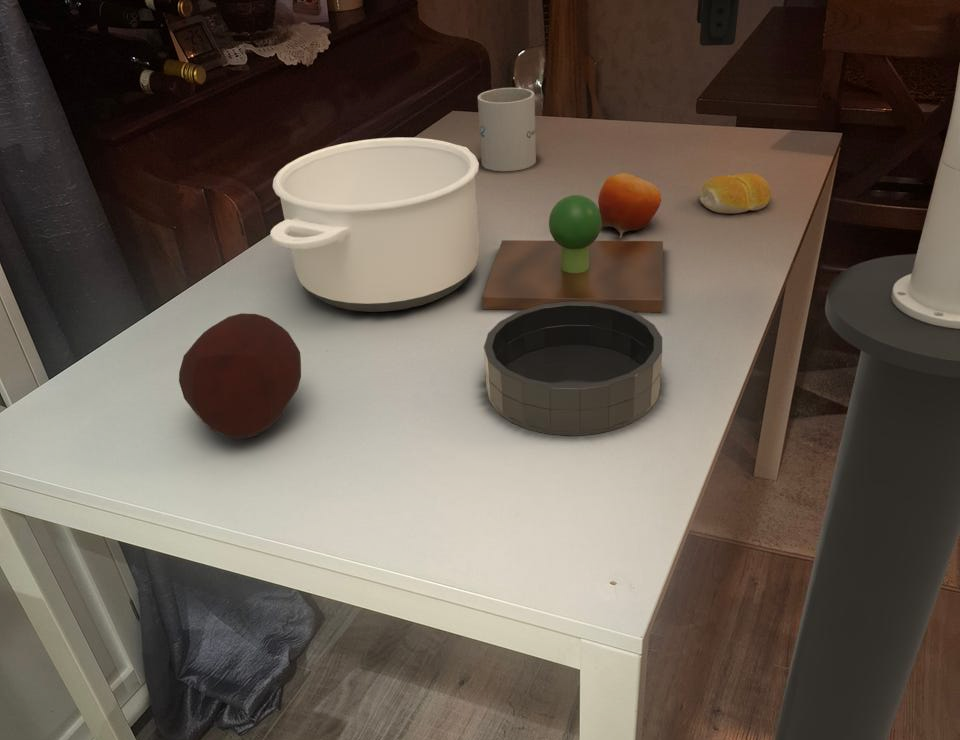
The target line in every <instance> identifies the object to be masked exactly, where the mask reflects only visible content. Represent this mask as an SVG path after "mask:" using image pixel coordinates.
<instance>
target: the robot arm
mask: <svg viewBox="0 0 960 740" xmlns="http://www.w3.org/2000/svg"><path fill="white" fill-rule="evenodd" d="M739 5H740V0H697V10H696V21H697V23H698V24H700V29H699V44H700V45H701V46H704V47H706V46H707V47H709V46H710V47H711V46H731V45H734V43H735V41H736V36H737V35H736V34H737V25H738V16H739V15H738V14H739V7H740V6H739ZM957 71H958V72H957V79H956V86H955V90H954V91H955V92H954V98H953V104H952V109H951V114H950V118H949V123H948V127H947V132H946V136H945V140H944V145H943V147H942V148H943V149H942V151H941V152H942V153H941V156H940V159H939V162H938V167H937V172H936V174H935V179H934V183H933V188H932V191H931V194H930V200H929V203H928V208H927V212H926V216H925V220H924V224H923V227H922V232H921V236H920V240H919V243H918V247H917V248H918V249H917V251H916V254H917V255H916V259H915V263H914V267H913V271H912V274H909V275H907V276H904V277H903V278H901V279H899V280H898V281H897V282H896V283H895V284H894V287H893V290H892V295H891V298H892V301H893V303H894V304H895V306H896V307H897V308H898V309H899V310H901V311H902V312H903V313H905V314H906V315H908V316H910V317H912V318H914V319H917V320H919V321H922V322H925V323H928V324H931V325H935V326H940V327H945V328H952V329H960V63H959V65H958V70H957Z"/></svg>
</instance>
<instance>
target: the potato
mask: <svg viewBox="0 0 960 740" xmlns="http://www.w3.org/2000/svg"><path fill="white" fill-rule="evenodd" d="M301 361H302V360H301V351H300V349H299V348H298V345H297V344H296V342H295V341H294V340H293V338H292V336H291V334H290V333H289V331H287V330H286V329H285V328H284V327H283V326H281V325H280V324H278V323H277V322H275V321H274V320H273V319H271V318H269V317H268V316H265V315H261V314H257V313H243V312H242V313H238V314H234V315H229V316H227V317H226V318H224V319H222V320H221V321H219V322H217V323H215V324H214V325H212V326H210V327H209V328H208V329H207V330H205V331H204V332H203V333H202V334H201V335H200V336H199V337H198V338H197V339H196V340H195V341H194V343H193V344H191V346H190V347H189V349H188V350H187V351H186V352H185V354H183V357H182V360H181V365H180V368H179V372H178V383H179V386H180V389H181V390H180V391H181V393H182V396H183V399H184V400H185V402H186V403H187V404H188V406H189V407H190V408H191V409H192V411H193V412H194V413H195V414H196V416H197V417H198V418H199V419H200V420H201V421H202V422H203V423H204V424H205V425H206V426H207V427H209V428H210V429H211V431H214V432H216V433H218V434H220V435H223V436H224V437H226V438H230V439H240V440H244V439H248V438H251V437H256V436H257V435H259V434H261V433H262V432H264V431H267V430H268V429H269V428H270V427H271V426H272V425H273V424H274V423H275V422H277V420H278V419H279V418H280V417H281V416H282V415H283V413H284V411H285V410H286V408H287V407H288V405H289V403H290V402H291V400H292V398H293V397H294V395H295V394H296V392H297V391H298V389H299V385H300V382H301V378H302V362H301Z"/></svg>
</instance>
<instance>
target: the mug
mask: <svg viewBox="0 0 960 740" xmlns="http://www.w3.org/2000/svg"><path fill="white" fill-rule="evenodd" d="M535 98H536V97H535V92H534V91H533V90H531V89H528V88H522V87H500V88H494V89H489V90H486V91H483V92H481V93H479V94H478V95H477V109H478V110H477V111H478V124H479V125H478V126H479V127H478V129H479V142H480V143H479V144H480V157H481V158H480V159H481V160H480V161H481V166H482V167H484V169H486V170H490V171H494V172H515V171H521V170H525V169H528V168H530V167H532V166H534V165H535V164H536V163H537V146H536V145H537V143H536V102H535V100H536V99H535Z"/></svg>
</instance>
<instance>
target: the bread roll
mask: <svg viewBox="0 0 960 740" xmlns="http://www.w3.org/2000/svg"><path fill="white" fill-rule="evenodd" d="M771 197H772V191H771V188H770V185H769V183H768V182H767V180H766V179H765V178H763V177H762V175H761V176H760V175H759V174H756V173H750V172H749V173H737V174H732V175H720V176H713V177H711V178H709V179H708V180H707V181H706V182H705V183H704V184H703V186H702V187H701V191H700V195H699V200H700V203H701V204H702V205H703V206H704V207H705V208H706V209H709V210H710V211H713V212H714V213H718V214H740V213H745V212H749V211H760V210H762V209H763V208H766V206H767V205H768V204H769V202H770V200H771Z"/></svg>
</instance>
